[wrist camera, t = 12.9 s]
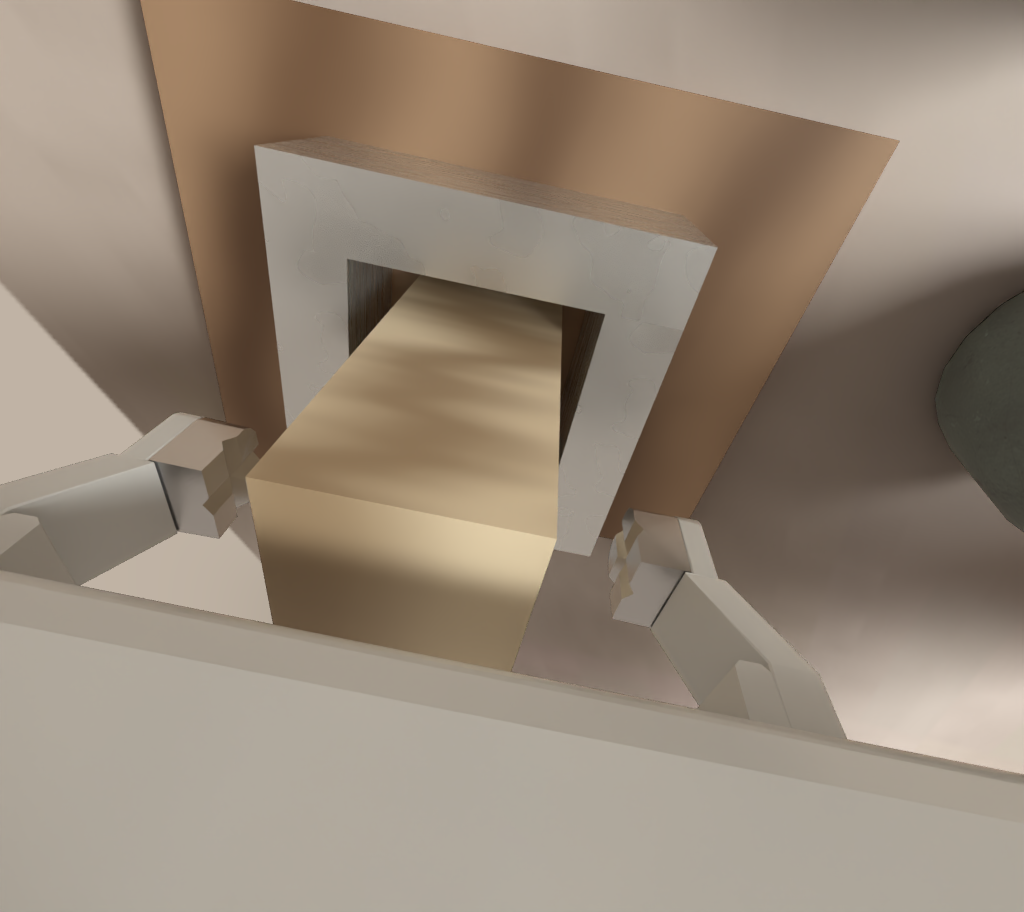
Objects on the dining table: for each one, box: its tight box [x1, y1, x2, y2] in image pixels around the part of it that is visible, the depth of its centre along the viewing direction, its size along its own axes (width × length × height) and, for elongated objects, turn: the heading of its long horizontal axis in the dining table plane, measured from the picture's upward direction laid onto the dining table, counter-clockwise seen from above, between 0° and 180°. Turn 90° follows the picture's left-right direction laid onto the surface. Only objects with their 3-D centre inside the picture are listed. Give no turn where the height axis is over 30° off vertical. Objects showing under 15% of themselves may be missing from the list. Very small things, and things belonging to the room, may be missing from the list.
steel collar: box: [254, 136, 718, 557], centre depth 15 cm, size 10×10×4 cm
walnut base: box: [140, 0, 899, 539], centre depth 18 cm, size 20×16×2 cm
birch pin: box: [245, 275, 562, 672], centre depth 13 cm, size 4×4×11 cm
